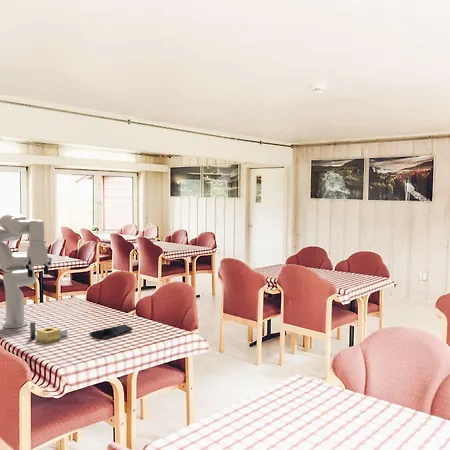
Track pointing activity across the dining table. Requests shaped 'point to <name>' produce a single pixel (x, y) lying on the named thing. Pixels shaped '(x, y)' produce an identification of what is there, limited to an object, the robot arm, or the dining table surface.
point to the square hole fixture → (50, 335)
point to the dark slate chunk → (110, 332)
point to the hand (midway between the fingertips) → (38, 275)
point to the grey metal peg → (32, 330)
